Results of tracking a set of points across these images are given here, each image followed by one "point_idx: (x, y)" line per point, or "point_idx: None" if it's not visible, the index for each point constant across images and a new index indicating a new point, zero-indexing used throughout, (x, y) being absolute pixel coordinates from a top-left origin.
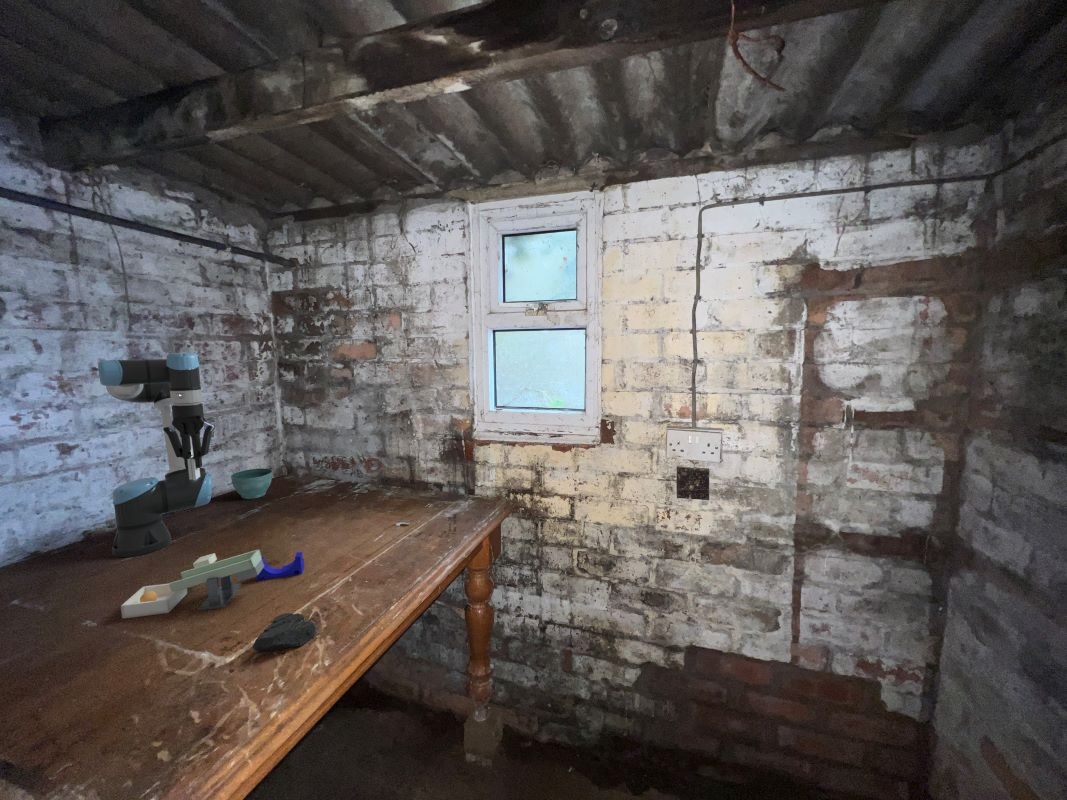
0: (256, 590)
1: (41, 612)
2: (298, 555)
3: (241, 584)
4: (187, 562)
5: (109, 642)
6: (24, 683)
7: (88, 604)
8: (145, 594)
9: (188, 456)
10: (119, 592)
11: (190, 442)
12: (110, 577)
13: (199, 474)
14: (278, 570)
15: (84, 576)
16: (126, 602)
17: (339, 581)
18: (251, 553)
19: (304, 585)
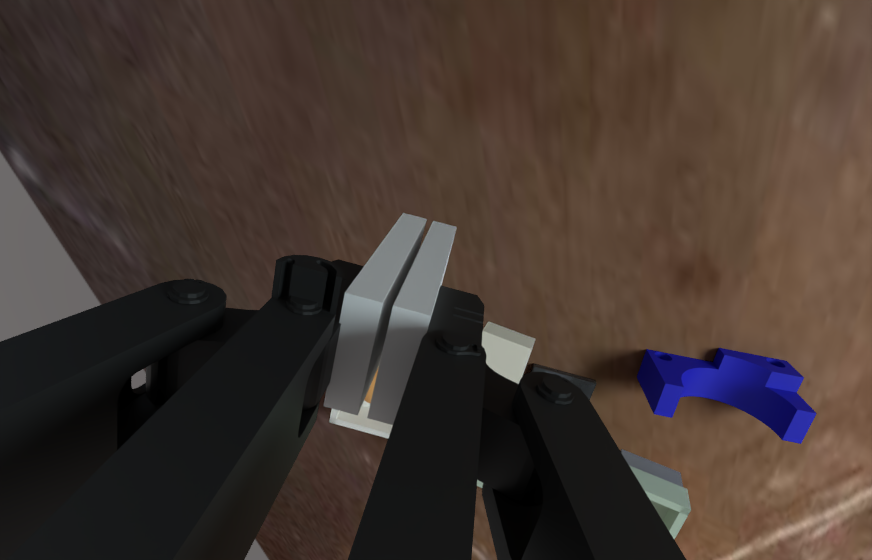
0: (632, 429)
1: (133, 270)
2: (796, 434)
3: (595, 381)
4: (411, 112)
5: (351, 481)
6: (266, 530)
7: (225, 283)
8: (369, 400)
9: (319, 397)
10: (274, 249)
11: (231, 477)
12: (198, 115)
13: (451, 246)
14: (707, 379)
15: (108, 59)
16: (336, 411)
17: (852, 496)
18: (660, 500)
19: (757, 468)
